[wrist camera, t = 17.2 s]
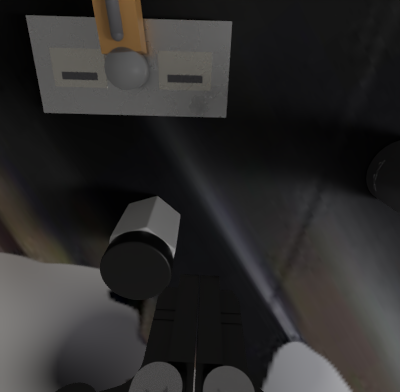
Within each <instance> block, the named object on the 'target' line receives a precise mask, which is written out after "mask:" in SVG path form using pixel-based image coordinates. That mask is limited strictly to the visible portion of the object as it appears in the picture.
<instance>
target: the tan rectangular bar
mask: <svg viewBox="0 0 400 392" xmlns="http://www.w3.org/2000/svg"><path fill="white" fill-rule="evenodd" d="M92 4H93V9H94V15H95V20H96V25H97V31H98V36H99V42H100V47H101V53H102V54H104V55H107V57H106V59H105V64H104V68H105V73H106V76H107V78H108V80H109V81H110V82H111V83H112V84H113V85H114V86H115V87H117V88H119V89H122V90H131V89H136V88H139V87H141V86H142V85H144V84H145V82H146V81H147V79H148V76H149V67H148V63H147V61H146V59H145V58H144V56H143V55H142V54H144V53H147V50H146V42H145V34H144V26H143V18H142V10H141V2H140V0H92Z"/></svg>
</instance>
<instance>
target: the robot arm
mask: <svg viewBox="0 0 400 392" xmlns="http://www.w3.org/2000/svg"><path fill="white" fill-rule="evenodd" d="M366 183H367V187H368V189H369V191H370V192H371V194H372V195H373V196H375V197H376V198H377V199H379V200H380V201H382V202H383V203H385V204H386V205H387V206H389V207H390V208H392V209H393V210H394V211H396V212H397V213H399V214H400V140H399V141H396V142H394V143H391V144H390V145H388V146H386V147H385V148H383V149H382V150H381V151H380V152H379V153H378V154H377V155H376V156H375V157H374V158H373V160H372V162H371V163H370V165H369V168H368V170H367V175H366ZM198 286H199V275H189V274H181V275H180V282H179V288H174V287H166V288H165V289H164V290H163V292H162V293H161V294H160V295H159V297H158V300H157V305H156V310H155V313H154V317H153V322H152V326H151V330H150V335H149V339H148V343H147V347H146V352H145V356H144V360H143V363H142V366H141V368H140V369H139V371H138V372H137V373H136V375H135V376H134V377H133V378H132V379H130V380H129V381H128V382H126V383H124V384H122V385H120V386H117V387H114V388H111V389H107V390H104V391H100V392H193V377H194V359H195V341H196V323H197V305H198ZM56 392H96V391H95V390H94V388H93V387H91V386H90V385H88V384H85V383H73V384H69V385H66V386H65V387H62V388H61V389H59V390H58V391H56ZM195 392H263V391H262V390H261V389H260V388H259V387H258V386H257V385H256V384H255V383H254V381H253V380H252V378H251V376H250V374H249V371H248V367H247V360H246V353H245V345H244V337H243V329H242V321H241V313H240V305H239V301H238V299H237V297H236V296H235V294H234V293H233V291H227V290H220V284H219V276H208V275H201V279H200V297H199V315H198V335H197V356H196V377H195Z"/></svg>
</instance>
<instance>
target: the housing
mask: <svg viewBox="0 0 400 392" xmlns="http://www.w3.org/2000/svg"><path fill="white" fill-rule="evenodd" d="M26 20H27V25H28V30H29V35H30V41H31V46H32V51H33V56H34V62H35V67H36V72H37V77H38V83H39V88H40V93H41V98H42V104H43V109H44V113H74V114H111V115H148V116H185V117H222V118H226V111H227V95H228V79H229V62H230V46H231V30H232V21H200V20H167V19H143V26H144V34H145V42H146V50H147V53H144V54H142V55H143V56H144V58H145V59H146V61H147V63H148V67H149V76H148V79H147V81H146V82H145V84H144V85H142V86H141V87H139V88H136V89H131V90H122V89H119V88H117V87H115V86H114V85H113V84H112V83H111V82H110V81H109V80H108V78H107V76H106V73H105V68H104V64H105V59H106V57H107V55H104V54H102V53H101V47H100V42H99V36H98V31H97V25H96V20H95V17H67V16H34V15H26Z"/></svg>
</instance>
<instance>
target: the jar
mask: <svg viewBox="0 0 400 392" xmlns="http://www.w3.org/2000/svg"><path fill="white" fill-rule="evenodd" d="M179 222H180V214H179V213H178V212H177V211H175V210H174V209H173V208H172V207H171V206H169V205H168V204H167V203H166V202H164V201H163V200H162V199H161V198H160V197H158V196H155V197H151V198H148V199H144V200H141V201H137V202H133V203H130V204H129V205H128V206H127V208H126V210H125V212H124V213H123V215H122V217H121V219H120V220H119V222H118V224H117V226H116V228H115V229H114V231H113V233H112V235H111V236H110V243H109V246H108V248H107V250H106V252H105V254H104V255H103V257H102V260H101V263H100V273H101V276H102V279H103V280H104V282H105V284H106V285H107V286H108V287H109V288H110V289H111V290H112V291H113V292H115V293H116V294H118V295H120V296H123V297H126V298H129V299H136V300H141V299H148V298H152V297H154V296H156V295H158V294H160V293H161V292H163V290H164V289H165V288H166V287H167V286H168V284H169V282H170V280H171V275H172V269H173V258H174V254H175V250H176V243H177V236H178V229H179Z"/></svg>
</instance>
